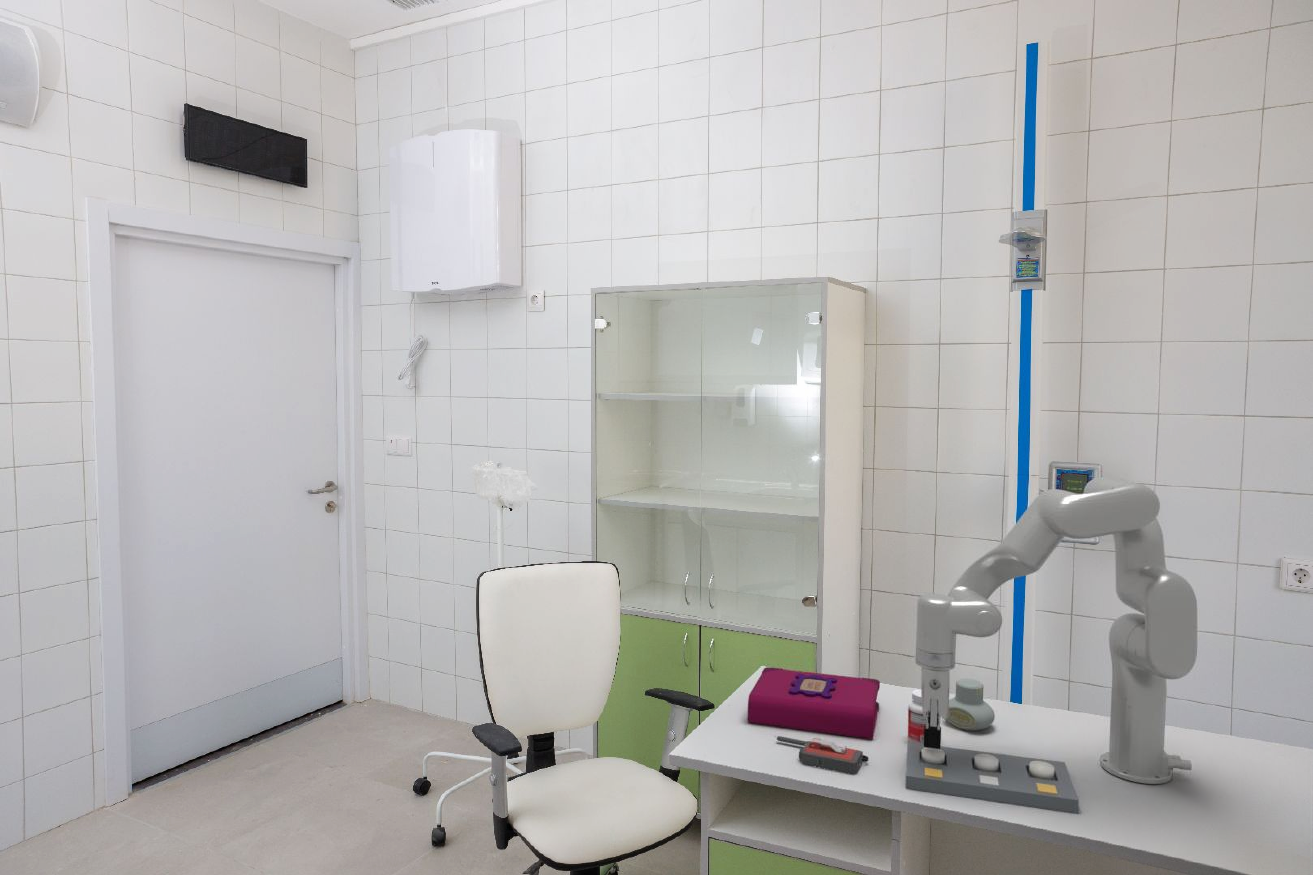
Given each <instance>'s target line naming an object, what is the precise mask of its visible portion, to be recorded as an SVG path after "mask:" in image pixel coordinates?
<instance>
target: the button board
mask: <svg viewBox="0 0 1313 875" xmlns="http://www.w3.org/2000/svg"><path fill="white" fill-rule="evenodd" d="M923 748H925V747H924V744H920V743H912V742H909V741H908V742H907V750H906V771H905V789H909V790H912V791H913V790H915V791H921V792H926V793H927V792H929V793H936V794H940V793H941V794H942V795H949V796H956V797H961V796H963V798H967V799H968V798H970V799H975V800H976V799H977V800H983V801H989V802H996V803H997V802H998V803H1004V804H1009V805H1010V804H1011V805H1017V806H1018V805H1019V806H1023V807H1024V806H1025V807H1031V808H1039V809H1044V810H1050V811H1051V810H1052V811H1059V812H1065V813H1072V814H1079V807H1080V806H1079V805H1080V800H1079V798H1078V794H1077V792H1076V789H1075V787H1074V784H1073V782H1072V779H1071V776H1070V773H1069V770H1068V767H1067V765H1066V762H1065V761H1059V760H1050V759H1043V758H1036V757H1035V758H1034V757H1025V756H1020V755H1019V756H1018V755H1013V754H1012V755H1011V754H1006V753H1005V754H1004V753H996V752H990V751H981V750H972V749H965V748H958V747H950V746H943V745H941V748H940V749H941V750H943V751H944V752H945V762H944V764H942V765H937V764H929V763H925V762H923V761H922V749H923ZM977 754H989V755H992V756H994V757H996V758H997V759H998V760H999V762H998V771H997V772H988V771H981V770H978V769H976V768H975V766H974V761H975V755H977ZM1032 761H1043V762H1047V763H1049V764H1051V765H1053V766H1054V779H1052V780H1047V779H1040V778H1034V777H1032V776H1031V775H1030V774H1029V763H1030V762H1032Z"/></svg>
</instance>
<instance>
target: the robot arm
mask: <svg viewBox="0 0 1313 875" xmlns="http://www.w3.org/2000/svg"><path fill="white" fill-rule="evenodd" d="M1160 508H1161V502H1160V499H1159V497H1158V494H1157V493H1156V492H1155V491H1154V489H1152V488H1151V487H1149V486H1146V485H1144V484H1141V483H1138V482H1134V481H1129V480H1125V479H1121V478H1117V477H1109V476H1100V477H1099V476H1098V477H1095V478H1092V479H1091V480H1090V481H1088V482H1087V484H1086V485H1085V486H1084V490H1083V493H1075V492H1071V491H1068V490H1063V489H1058V488H1057V489H1056V488H1052V489H1051V488H1050V489H1045V490H1043V491H1041V493H1039V494H1038V495H1037V496H1036V498H1034V499H1033V501H1032V502H1031V504H1029V506H1028V507H1027V509H1026V510H1025V511H1024V512H1023V514H1022V515H1021V516H1020V518H1019V519H1018V520H1017V522H1016V523H1015V524H1014V526H1013V527H1012V528H1011V530H1010V531H1009V532H1008V534H1007V535H1006V536H1005V537H1004V539H1003V540H1002V541H1000V543H999V544H998V545H997V546H996V547H994V548H993V549H990V550H989V551H988V552H986V553H985V554H984V555H982V556H981V557H980V558H978V559H977V560H975V561H974V562H973V563H971V564H970V565H969V567H968V568H966V569H965V571H964V572H963V573H962V574H961V575H960V577H959V578H958V580H957V581H955V583H954V584H953V586H952V588H950V591H948V594H947V595H946V594H942V593H926V594H922V595H920V597H919V598H918V600H917V609H916V610H917V611H916V612H917V613H916V632H915V634H916V636H915V637H916V638H915V639H916V640H915V661H914V662H915V664H917V666H919V667H921V670H920V671H921V673H920V674H921V676H920V679H921V682H920V685H921V686H920V689H921V698H922V710H923V716H924V717H925V718H926V725H924V747H927V748H934V749H940V748H941V746H942V745H941V743H942V726H941V719H942V720H945V721H948V719H949V700H950V683H951V682H950V674H951V673H950V671H951V670H954V669H955V667H956V655H957V654H956V653H957V652H956V650H957V648H956V646H957V635H961V636H968V637H972V638H988V637H992V636H994V635H995V634H996V633H998V632H999V630H1000V629H1001V627H1002V624H1003V616H1002V613H1001V610H1000V609H999V607H997V605H996V604H994V603H993V602H992V601H990V600H989V599H990V597H991V596H992V595H993V593H994V592H995V591H996V590H997V589H999V588H1000V586H1002V585H1004V584H1005V583H1006V582H1008V581H1010V580H1013V579H1015V578H1020V577H1024V576H1025V577H1026V576H1028V575H1031V574H1032V575H1033V574H1034V573H1036V572H1038V571H1040V569H1041V568H1042V567H1043V565H1044V564H1045V563H1046V561H1047V560H1048V559H1049V557H1050V556H1051V554H1052V553H1053V552H1054V551H1055V550H1056V548H1057V547H1058V546H1059V544H1060V543H1061V542H1062V541H1063V539H1064V538H1065V537H1066V538H1070V539H1072V540H1073V539H1074V540H1075V539H1076V540H1082V539H1083V540H1084V539H1090V538H1098V537H1102V536H1103V537H1104V536H1105V537H1106V536H1109V535H1112V537H1113V541H1114V552H1115V558H1114V559H1115V564H1114V566H1115V592H1116V595H1117V598H1118V599H1119V601H1121V602H1122V603H1123V604H1124V605H1125V606H1128V607H1129V608H1131V609H1133V610H1135V611H1137V612H1139V613H1133V612H1132V613H1126V614H1122V615H1121V616H1119V617H1117V619H1115V620H1114V621H1113V623H1112V624H1111V627H1110V629H1109V633H1108V646H1109V652H1110V658H1111V670H1112V671H1111V695H1110V697H1111V699H1110V722H1109V743H1108V744H1109V746H1108V747H1109V748H1108V751H1107V752H1104V753H1102V754H1101V755H1100V759H1099V764H1100V765H1101V767H1102V768H1103V769H1104V770H1106V772H1108V773H1110V774H1111V775H1114V776H1115V777H1118V778H1120V779H1123V780H1126V781H1131V782H1134V783H1139V784H1147V785H1159V784H1161V785H1162V784H1165V783H1168V782H1169V781H1171V780H1172V778H1173V771H1172V770H1173V769H1177V770H1178V769H1179V770H1180V771H1181V770H1183V771H1192V761H1191V760H1188V759H1182V758H1181V756H1180V755H1176V754H1167V752H1166V751H1165V737H1166V736H1165V735H1166V734H1165V733H1166V714H1167V712H1166V711H1167V693H1168V691H1167V689H1168V687H1167V680H1179V679H1181V678H1184V677H1186V676H1187V675H1189V673H1190V672H1191V671H1192V670H1193V668H1194V666H1195V664H1196V662H1197V661H1196V660H1197V656H1198V602H1197V601H1198V600H1197V597H1196V593H1195V591H1194V588H1193V587H1192V585H1191V584H1190V582H1189V581H1188V580H1187V579H1186V578H1185V577H1183V576H1182V575H1180V574H1178V573H1175V572H1173V571H1170V570H1168V569H1167V567H1166V566H1167V565H1166V558H1165V556H1166V554H1165V544H1164V543H1165V542H1164V541H1165V540H1164V535H1163V530H1162V528H1161V525H1160V523H1159V521H1158V519H1157V517H1158V515H1159V512H1160Z"/></svg>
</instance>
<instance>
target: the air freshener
mask: <svg viewBox="0 0 1313 875" xmlns="http://www.w3.org/2000/svg"><path fill="white" fill-rule="evenodd" d="M995 718H996V714H995V711H994V709H993V707H991V705H990V704H989V703H987V702H986V701H985V700H984V684H983V683H982V682H980V681H978V680H976V679H974V678H973V679H972V678H960V679H958V680H957V681H955V697H952V698H949V719H948V720H947V721H948V722H949V723H951V724H952V725H953V726H954V727H957V728H958V729H959V730H962V729H963V731H980V730H985V729H987V728H988V727H990V726H991V725H993V723H994V722H995Z"/></svg>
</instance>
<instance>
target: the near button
mask: <svg viewBox="0 0 1313 875" xmlns="http://www.w3.org/2000/svg"><path fill="white" fill-rule="evenodd" d="M1029 774H1030V775H1031V776H1032V777H1034V778H1040V779H1047V780H1052V779H1054V766H1053V765H1051V764H1049V763H1047V762H1043V761H1032V762H1030V763H1029Z"/></svg>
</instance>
